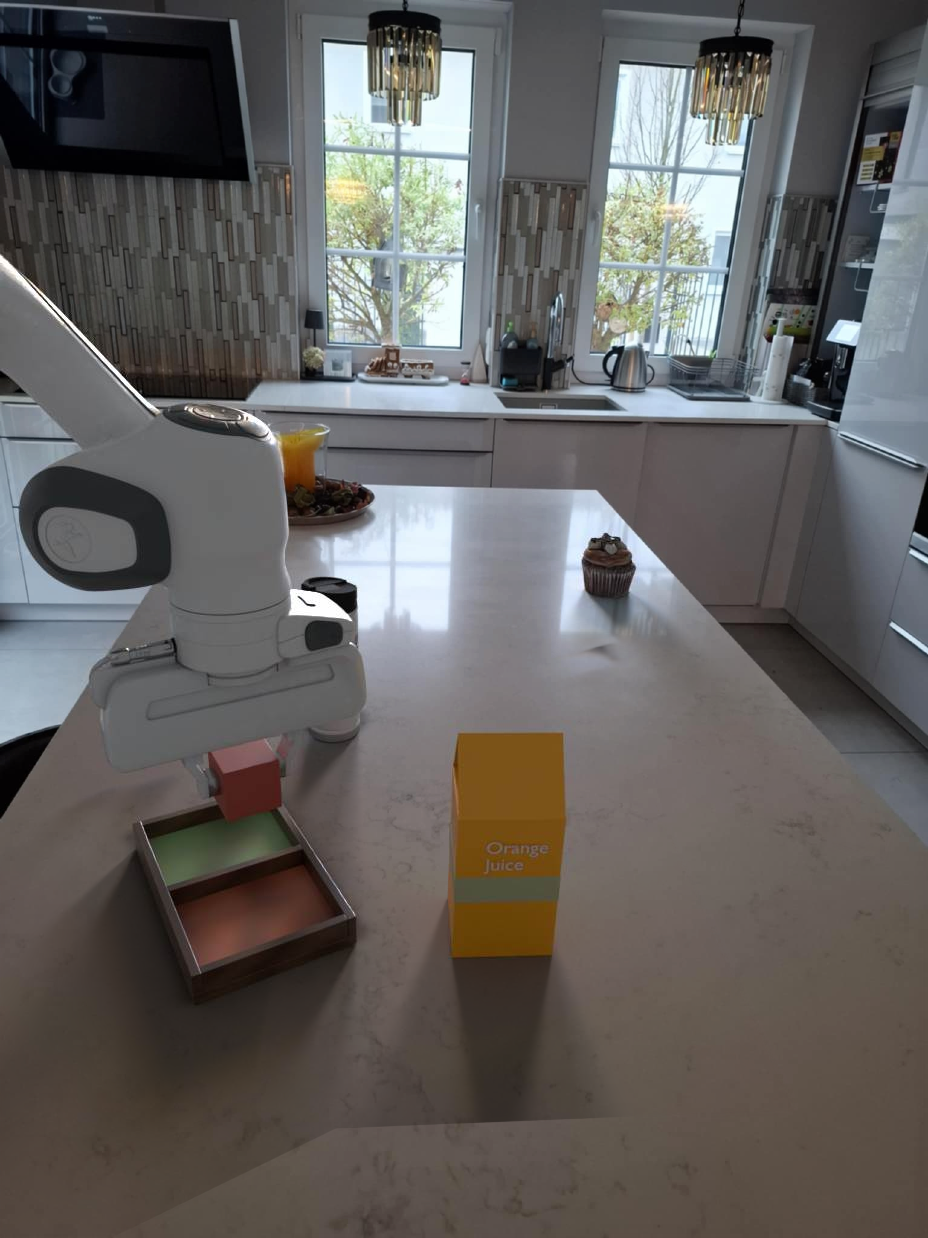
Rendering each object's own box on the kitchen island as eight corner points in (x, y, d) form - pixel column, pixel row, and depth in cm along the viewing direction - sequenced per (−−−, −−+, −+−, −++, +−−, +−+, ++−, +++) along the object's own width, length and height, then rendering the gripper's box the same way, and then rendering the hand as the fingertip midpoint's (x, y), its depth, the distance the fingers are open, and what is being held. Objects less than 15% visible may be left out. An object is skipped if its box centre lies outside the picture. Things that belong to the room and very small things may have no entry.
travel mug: (297, 728, 108) (289, 577, 100) (342, 712, 112) (338, 566, 104) (323, 749, 104) (318, 594, 96) (369, 732, 108) (368, 582, 100)
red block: (227, 823, 68) (223, 774, 66) (211, 793, 72) (206, 746, 70) (282, 807, 70) (279, 759, 69) (264, 779, 74) (261, 733, 72)
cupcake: (621, 604, 150) (627, 548, 146) (570, 591, 154) (575, 537, 150) (641, 587, 157) (648, 534, 153) (592, 576, 162) (597, 524, 158)
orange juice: (446, 896, 81) (453, 709, 73) (539, 894, 82) (557, 709, 74) (451, 959, 74) (459, 760, 66) (553, 957, 75) (574, 759, 67)
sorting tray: (194, 1005, 69) (191, 977, 68) (135, 848, 86) (132, 823, 85) (356, 943, 76) (356, 916, 74) (272, 808, 93) (270, 785, 92)
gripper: (92, 673, 58) (119, 844, 63) (373, 619, 67) (375, 770, 73) (77, 638, 62) (103, 798, 68) (341, 592, 72) (345, 735, 78)
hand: (245, 783), depth 70 cm, fingers closed on red block, 4 cm apart
